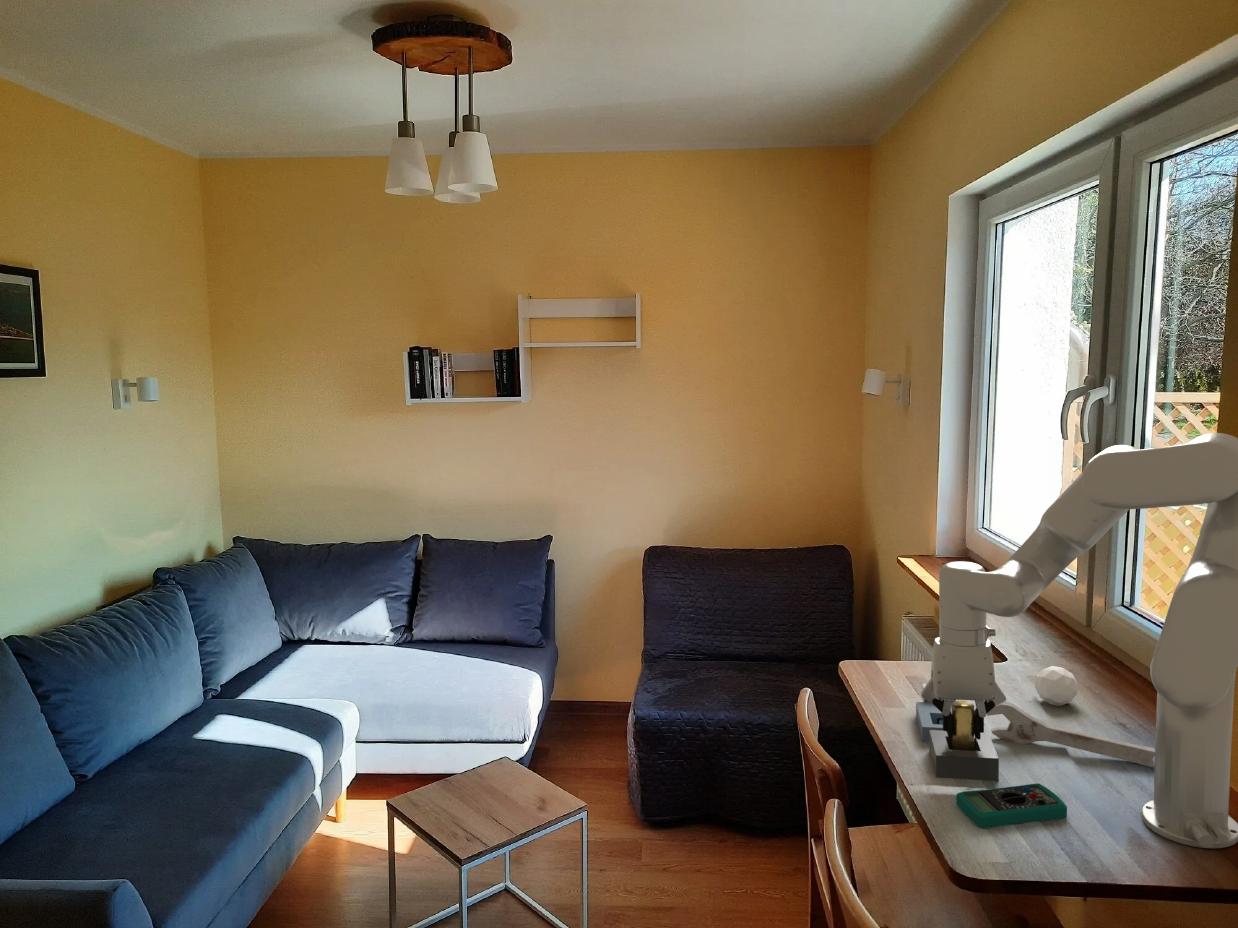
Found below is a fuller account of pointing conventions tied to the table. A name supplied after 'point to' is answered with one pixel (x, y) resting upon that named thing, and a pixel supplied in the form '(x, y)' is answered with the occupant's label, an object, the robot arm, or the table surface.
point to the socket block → (928, 719)
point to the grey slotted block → (963, 758)
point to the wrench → (1065, 736)
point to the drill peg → (963, 726)
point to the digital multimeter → (1011, 805)
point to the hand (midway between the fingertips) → (963, 734)
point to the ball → (1056, 685)
